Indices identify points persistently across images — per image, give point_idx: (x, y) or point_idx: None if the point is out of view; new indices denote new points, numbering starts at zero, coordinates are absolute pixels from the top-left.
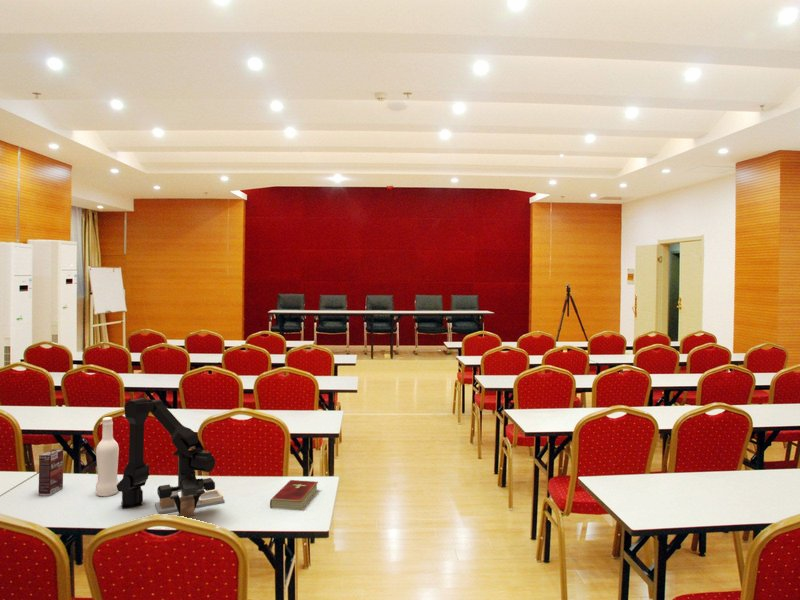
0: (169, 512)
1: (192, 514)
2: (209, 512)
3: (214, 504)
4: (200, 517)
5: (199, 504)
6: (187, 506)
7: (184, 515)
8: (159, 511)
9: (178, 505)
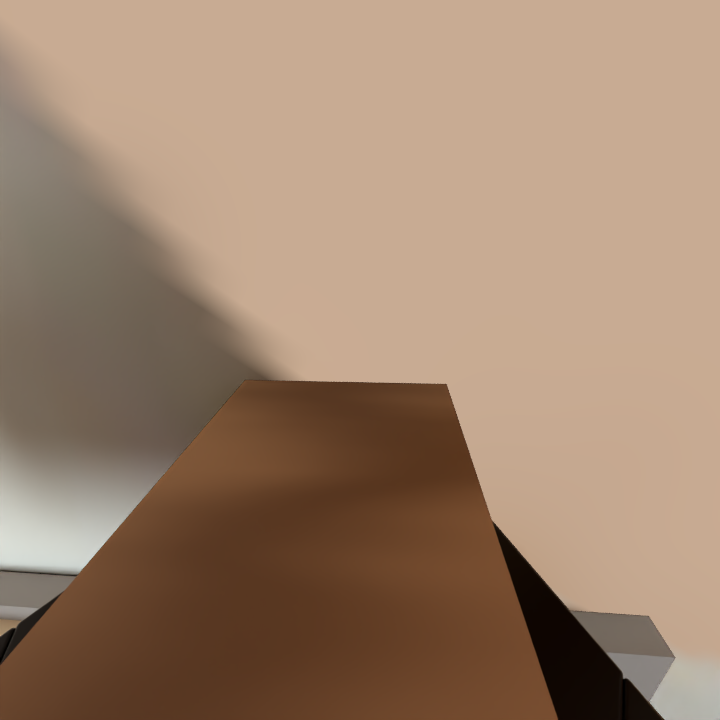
0: None
1: (261, 394)
2: (38, 400)
3: (21, 573)
4: (150, 277)
5: None
6: (310, 531)
7: (392, 402)
8: (659, 665)
9: (558, 657)
